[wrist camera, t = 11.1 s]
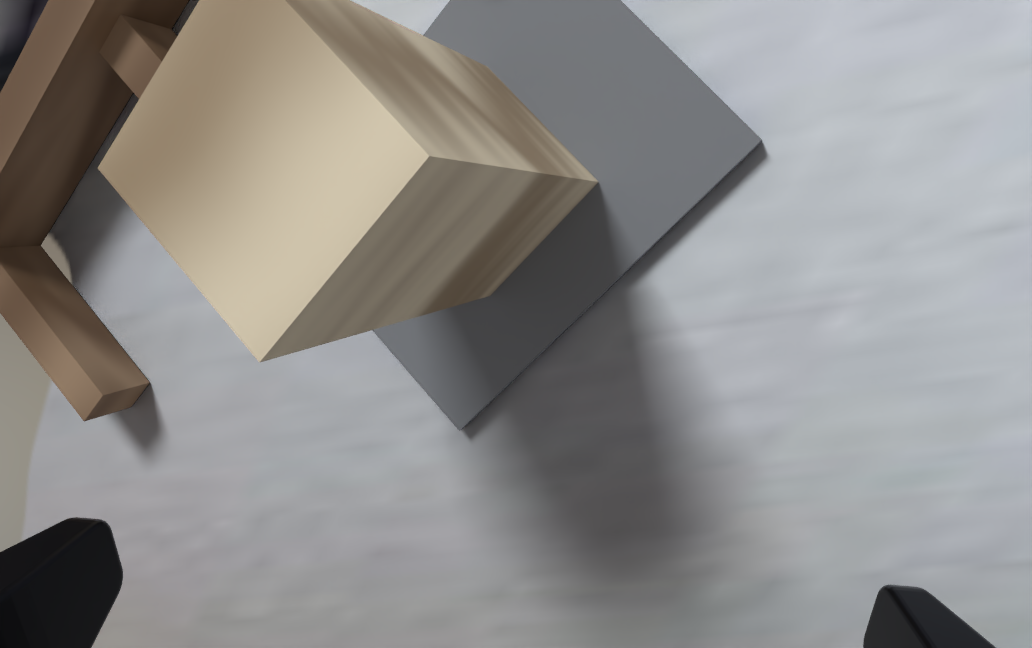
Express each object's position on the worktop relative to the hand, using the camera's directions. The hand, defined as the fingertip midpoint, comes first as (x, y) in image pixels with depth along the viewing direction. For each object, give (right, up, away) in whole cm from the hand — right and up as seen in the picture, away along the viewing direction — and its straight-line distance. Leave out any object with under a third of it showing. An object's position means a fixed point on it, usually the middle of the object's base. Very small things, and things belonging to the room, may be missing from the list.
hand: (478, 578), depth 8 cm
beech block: (0, +7, +12) cm, 14 cm away
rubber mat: (0, +7, +13) cm, 15 cm away
